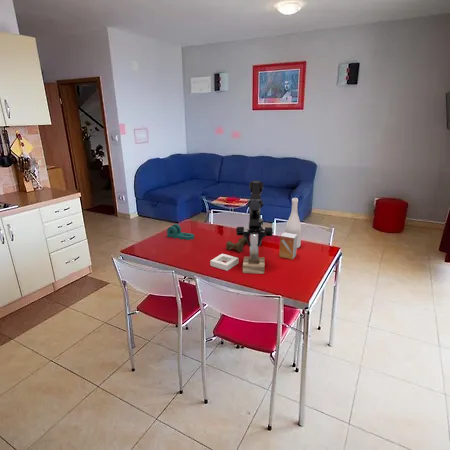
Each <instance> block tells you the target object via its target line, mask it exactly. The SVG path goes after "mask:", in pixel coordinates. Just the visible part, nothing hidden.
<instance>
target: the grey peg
mask: <svg viewBox="0 0 450 450" xmlns="http://www.w3.org/2000/svg"><path fill="white" fill-rule="evenodd" d="M258 236H259V234H258V233H255V232H253V233H250V236H249V241H250V247H249V257H250V258H251V259H257V258H258V257H259V247H258Z"/></svg>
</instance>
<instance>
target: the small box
mask: <svg viewBox="0 0 450 450" xmlns="http://www.w3.org/2000/svg"><path fill="white" fill-rule="evenodd" d="M297 250H298V248H297V234H291V233H285V231H284V232H282V233H281V235H280V237H279V252H278V253H279V255H278V256H279V257H280V258H285V259H289V260H294V258H295V257H296V256H297Z"/></svg>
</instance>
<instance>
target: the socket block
mask: <svg viewBox="0 0 450 450" xmlns="http://www.w3.org/2000/svg"><path fill="white" fill-rule="evenodd" d="M242 274H260V275H261V274H263V275H264V274H265V257H264V256H263V257H262V256H258V258H257V259H251V258H250V256H243V263H242Z"/></svg>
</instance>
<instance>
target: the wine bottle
mask: <svg viewBox="0 0 450 450" xmlns="http://www.w3.org/2000/svg"><path fill="white" fill-rule="evenodd" d="M298 205H299V199H298V198H297V197H293V198H291V212H290V215H289V217H288V219H287V223H286V225H285V229H284V232H285V233H291V234H297V249H299V248H300V247H301V245H302V244H301V243H302V223H301V220H300V217H299V212H298Z"/></svg>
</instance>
